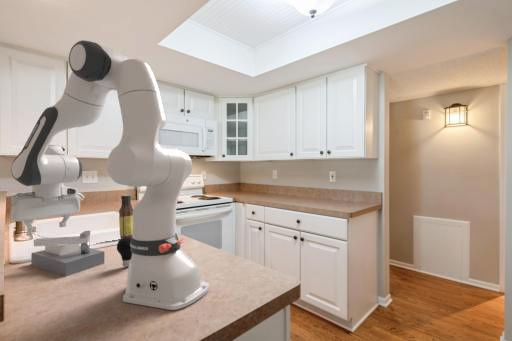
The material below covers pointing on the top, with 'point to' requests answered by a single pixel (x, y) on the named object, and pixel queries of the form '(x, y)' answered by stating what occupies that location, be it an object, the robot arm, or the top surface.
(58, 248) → the cover
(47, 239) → the t key
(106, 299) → the top surface
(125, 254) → the light bulb
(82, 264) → the housing
